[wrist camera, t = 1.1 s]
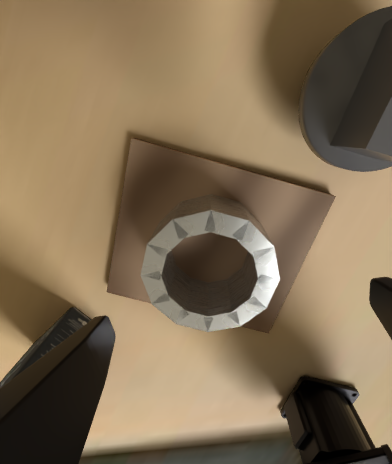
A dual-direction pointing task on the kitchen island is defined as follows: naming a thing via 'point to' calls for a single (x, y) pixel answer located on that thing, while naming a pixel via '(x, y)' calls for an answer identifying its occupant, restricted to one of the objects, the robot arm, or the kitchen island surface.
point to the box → (48, 341)
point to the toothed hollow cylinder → (218, 292)
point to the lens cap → (352, 97)
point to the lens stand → (210, 244)
